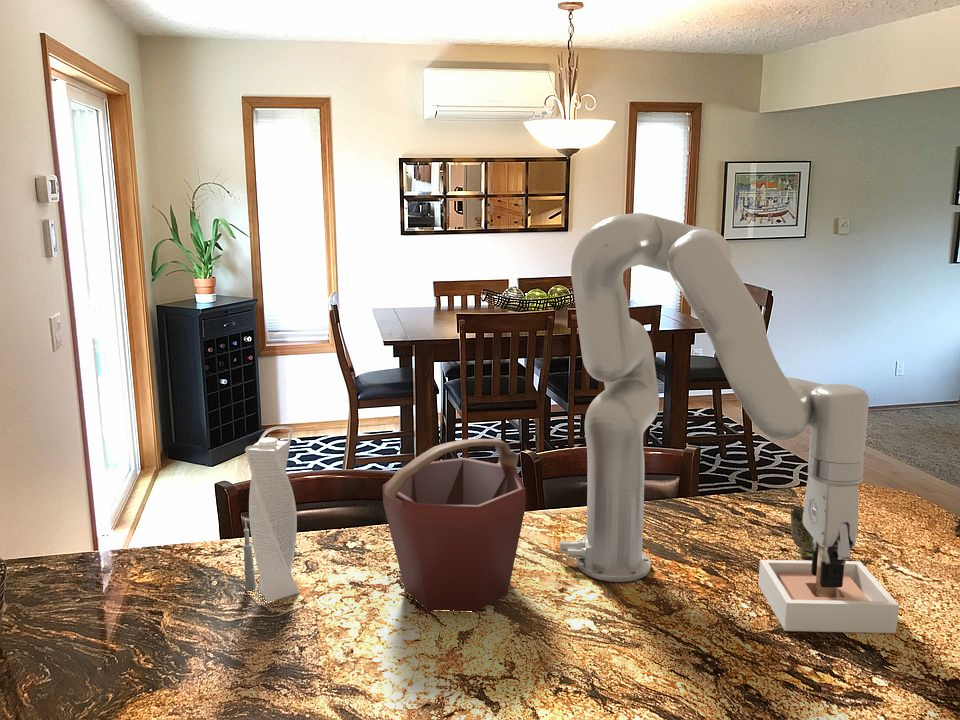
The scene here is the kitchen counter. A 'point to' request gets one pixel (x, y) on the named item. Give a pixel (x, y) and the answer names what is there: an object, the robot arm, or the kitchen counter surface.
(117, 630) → the kitchen counter surface
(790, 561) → the open-top box
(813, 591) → the bored plate
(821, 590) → the birch peg
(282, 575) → the skyscraper
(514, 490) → the bucket
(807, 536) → the cup
